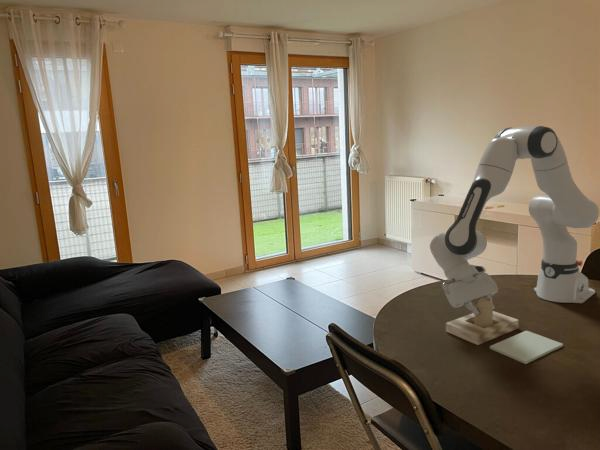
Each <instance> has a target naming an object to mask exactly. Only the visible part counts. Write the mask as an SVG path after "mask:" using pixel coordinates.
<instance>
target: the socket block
mask: <svg viewBox="0 0 600 450" xmlns="http://www.w3.org/2000/svg"><path fill="white" fill-rule="evenodd" d="M519 321H520V320H519V319H517V318H514V317H512V316H508V315H506V314H503V313H500V312H497V311H494V310H493V324H492V326H489V327H487V328H481V327H479V326H476V325H475V315H474V314H473V312H471V313H469V314H467V315H464V316H461V317H458V318H456V319H453V320H450V321H447V322H445V332H447V333H449V334H451V335H454V336H456V337H458V338H460V339H463V340H465V341H467V342H470V344H471V343H472V344H473V345H474V344H475V345H477V346H479V345H482V344H484V343H486V342H488V341H491V340H493V339H496V338H498V337H500V336H501V337H502V336H503V335H505V334H508V333H510V332H513V331H516V330H517V329H519Z"/></svg>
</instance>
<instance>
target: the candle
mask: <svg viewBox="0 0 600 450" xmlns="http://www.w3.org/2000/svg"><path fill="white" fill-rule="evenodd" d="M492 303H493V302H492ZM492 303H491V302H490V301H489V300H487V299H486V298H481V299H479V300H478V301H475V302H474V307H475V308H476V309H477V308H479V310H480V311H481V313H480V314H479V315H476V316H475V325H476V326H479V327H481V328H487V327H489V326H492V324H493V311H494V309H493V305H494V303H493V304H492Z"/></svg>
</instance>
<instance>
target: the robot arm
mask: <svg viewBox="0 0 600 450" xmlns="http://www.w3.org/2000/svg"><path fill="white" fill-rule="evenodd" d="M518 159H519V160H520V159H521V160H525V159H530V163H531V167H532V170H533V174H534V177H535V181H536V184H537V187H538V188H539V190H541V192H543V193H545V194H538V195H535V196H534V197H533V198H532V199H531V200H530V202H529V204H528V213H529V215H530V217H532V218H533V220H534V221H535V222H536V224H537V226H538V228H539V230H540V233H541V236H542V245H543V246H542V247H543V249H542V250H543V251H542V252H543V253H542V259H541V263H540V265H541V266H540V267H541V268H540V269H541V270H540V271H538V276H537V282H536V287H535V286H534V288H533V291H534V292H536V295H537V297H538V298H540V299H543V300H546V301H548V302H554V303H563V304H564V303H565V304H567V303H570V304H571V303H574V304H583V303H585V302H586V301H587V300H588V299H590V297H592V296H593V295H595V293H596V290H595V289H594V288H591V287H589V278H588V277H587V276H586V275H585V274H583V273H582V272H580V268H579V267H581V266H583V260H578V259H577V253H578V242H577V240H576V239H575V237H574V236H572V235H571V233H570V232H569V230H568V228H572V229H589V228H591V227H593V226H594V225H595V224H596V223H597V221H598V219H599V216H600V211H599V206H598V205H597V203H595V202H594V201H593V200H591V199H589V198H588V197H587V196H586V195H585V194H584V192H582V191H581V189H580V188H579V187H578V186H577V184H576V183H575V181H574V178H573V176H572V173H571V170H570V166H569V163H568V158H567V156H566V152H565V149H564V147H563V144H562V143H561V140H560V139H559V137H558V136H557V134H556V132H555V131H554V130H553V128H550V127H548V126H544V125H539V126H537V125H536V126H535V125H523V126H515V127H506V128H504V129H501V130H499V132H497V133H496V134H495V136H494V138H493V139H491V140H490V141H489V143H488V144H487V146H486V148H485V149H484V151H483V154H482V156H481V158H480V161H479V163H478V166H477V168H476V172H475V175H474V178H473V181H472V184H471V185H470V187H469V190H468V192H467V194H466V195H465V199H464V201H463V203H462V206H461V208H460V210H459V213H458V215H457V217H456V219H455V220H454V221H453V223H452V225H450V227H449V228H448V229H447V231H446V232H441V233H439V234H436V235H435V236H434V238H432V239H431V241H430V244H429V249H430V252H431V255H432V256H433V258H434V260H435V261H436V263H437V264H438V266H439V267H440V268H441V269H442V270H443V272H444V275H445V277H446V279H447V280H446V281H443V282H442V287H441V288H442V290H443V291H444V294H445V296H446V299H447V300H448V301H447V302H449V304H450V306H451V307H452V308H453V309H457V308H460V307H463V306H465V308H466V309H467V310H469V311H471V313H473V314H474V315H475V316H476V315H479V314H480V313H481V311H480V310H479V308H477V309H476V308H475V305H474V303H475V302H477V301H478V300H479V299H481V298H486V299H487V300H489V301H490V302H491V303H492V304H493V310H494V309H495V308H496V307H495V304H494V303H493V298H492V296H494V295H495V294H496V293H498V292H499V287H498V286H497V285H498V284H497V283H496V282H495V281H494V279H493V277H492V276H490V274H489V273H487V271H486V268H485V267H484V266H482V265H474V264H470V263H469V261H468V260H470V259H473V258H476V257H478V256H480V255H481V254H483V253H484V252H485V250H486V247H487V238H486V236H485V235H484V234H485V233H483V232H481V231H480V230H478V229H477V225H478V222H479V220H480V218H481V215H482V213H483V211H484V208H485V207H486V204H487V202H488V201H490V199H491V198H494V197H496V196H499V195H501V194H502V193H504V192H505V190H506V188H507V187H508V185H509V183H510V181H511V178H512V175H513V172H514V169H515V165H516V162H517V160H518Z"/></svg>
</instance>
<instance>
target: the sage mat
mask: <svg viewBox="0 0 600 450" xmlns="http://www.w3.org/2000/svg"><path fill="white" fill-rule="evenodd" d="M563 346H564V343H562V342H559V341H557V340H554V339H550V338H549V337H546V336H543V335H540V334H538V333H534V332H532V331H529V330H524V331H522V332H520V333H517V334H515V335H513V336H510V337H508V338H506V339H503V340H501V341H498V342H496V343H494V344H492V345H490V346H489V350H492V351H494V352H497V353H499V354H501V355H504V356H505V357H506V356H507V357H508V358H511V359H513V360H515V361H517V362H520V363H522V364H525V365H526V364H529V363H531V362H533V361H536V360H537V359H539V358H541V357H543V356H546V355H548V354H549V353H551V352H554V351H557V350H558V349H560V348H562V347H563Z"/></svg>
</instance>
